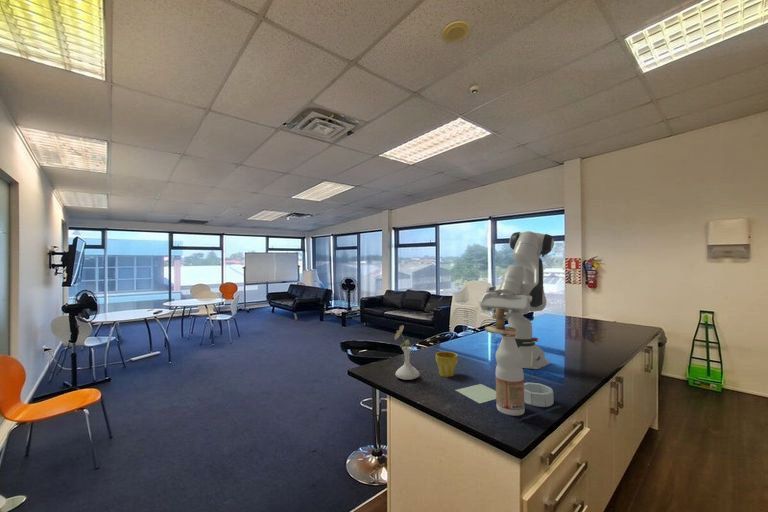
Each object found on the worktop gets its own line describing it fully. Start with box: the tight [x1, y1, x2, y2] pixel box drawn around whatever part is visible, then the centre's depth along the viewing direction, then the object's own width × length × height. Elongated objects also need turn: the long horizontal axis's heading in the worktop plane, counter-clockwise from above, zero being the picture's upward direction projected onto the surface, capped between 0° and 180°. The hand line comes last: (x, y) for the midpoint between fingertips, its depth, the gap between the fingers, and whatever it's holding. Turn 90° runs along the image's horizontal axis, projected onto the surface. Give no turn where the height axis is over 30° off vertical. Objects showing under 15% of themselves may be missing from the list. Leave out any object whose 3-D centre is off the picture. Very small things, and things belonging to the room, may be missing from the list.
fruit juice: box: [495, 331, 526, 417], centre depth 110 cm, size 9×9×28 cm
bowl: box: [524, 382, 555, 408], centre depth 116 cm, size 11×11×5 cm
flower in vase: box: [393, 324, 421, 381], centre depth 143 cm, size 13×11×25 cm
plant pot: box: [435, 351, 459, 378], centre depth 146 cm, size 10×10×10 cm
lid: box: [484, 308, 516, 335], centre depth 127 cm, size 12×12×9 cm
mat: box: [455, 383, 496, 405], centre depth 123 cm, size 14×14×1 cm
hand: (499, 318), depth 127 cm, fingers closed on lid, 3 cm apart
